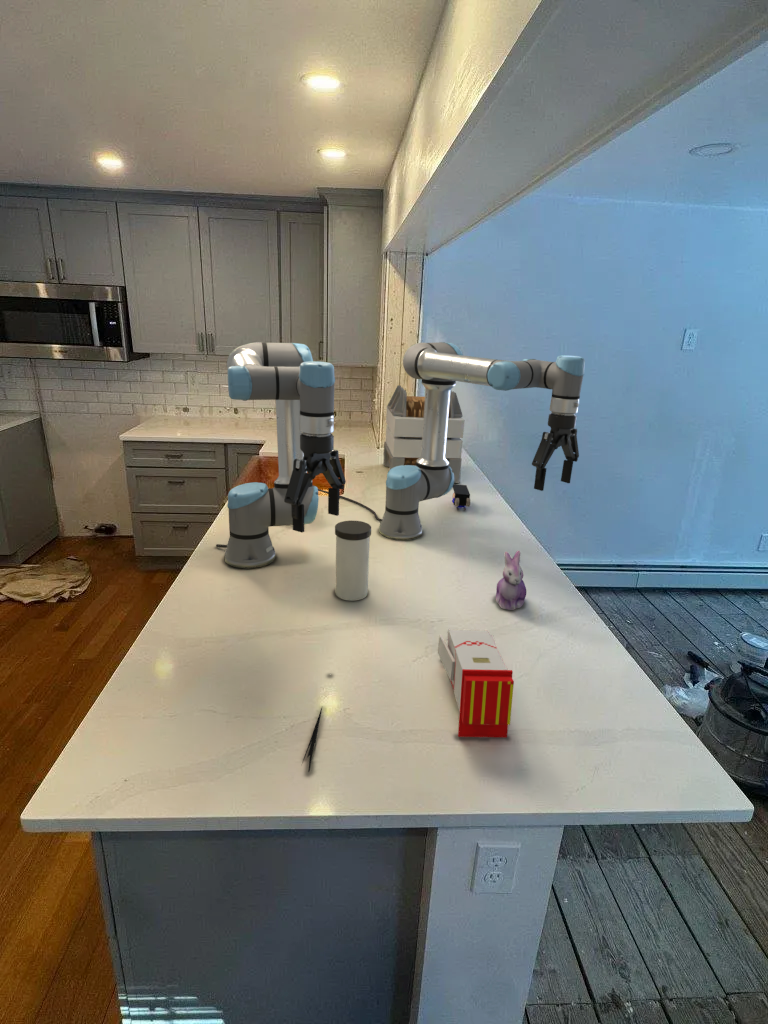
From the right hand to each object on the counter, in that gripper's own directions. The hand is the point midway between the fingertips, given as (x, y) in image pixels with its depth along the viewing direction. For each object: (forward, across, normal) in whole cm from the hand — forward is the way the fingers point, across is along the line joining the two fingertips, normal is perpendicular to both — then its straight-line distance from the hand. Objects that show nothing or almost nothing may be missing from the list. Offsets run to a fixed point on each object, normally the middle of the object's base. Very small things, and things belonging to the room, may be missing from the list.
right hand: (552, 485), depth 166 cm
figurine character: (+28, +26, +56) cm, 68 cm away
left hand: (+2, -71, +17) cm, 73 cm away
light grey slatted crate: (+28, +46, +101) cm, 115 cm away
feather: (+28, -91, -14) cm, 96 cm away
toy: (+28, -62, -26) cm, 72 cm away
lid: (+9, -55, +24) cm, 60 cm away
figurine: (+28, -23, -7) cm, 37 cm away
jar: (+28, -55, +24) cm, 66 cm away
